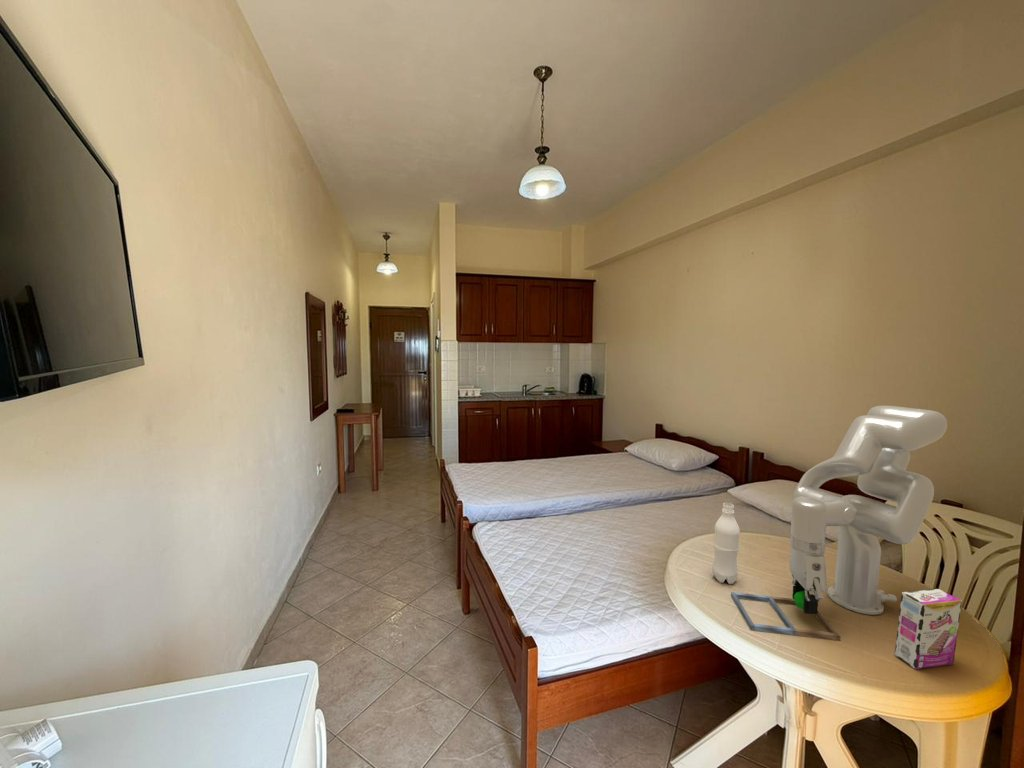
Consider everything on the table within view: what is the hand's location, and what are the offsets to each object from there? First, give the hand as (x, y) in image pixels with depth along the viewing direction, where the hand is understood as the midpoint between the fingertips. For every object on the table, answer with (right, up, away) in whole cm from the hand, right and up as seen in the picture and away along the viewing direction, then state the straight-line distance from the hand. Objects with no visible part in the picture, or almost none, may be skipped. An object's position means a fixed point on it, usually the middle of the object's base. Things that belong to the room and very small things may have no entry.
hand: (804, 605), depth 111 cm
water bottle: (-12, -2, +19) cm, 22 cm away
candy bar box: (+18, -5, -15) cm, 24 cm away
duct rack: (-6, -3, +1) cm, 7 cm away
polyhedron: (0, -1, 0) cm, 1 cm away
